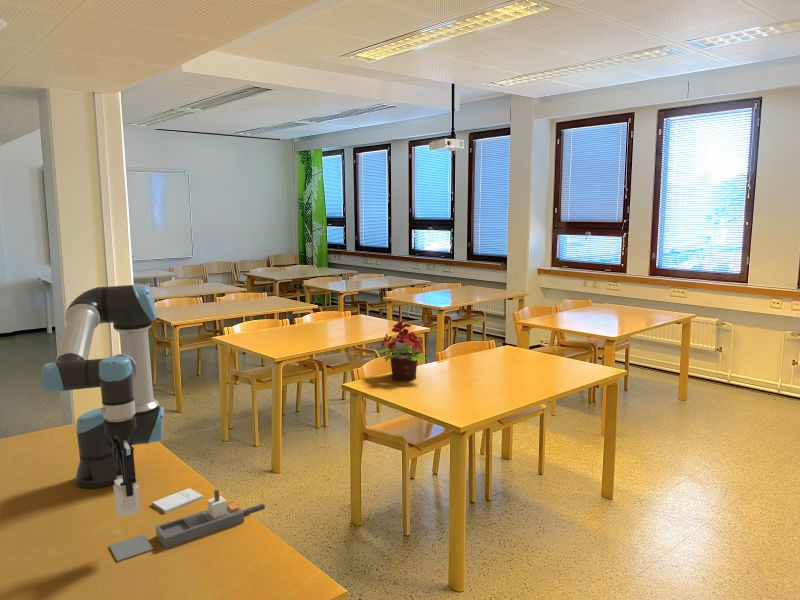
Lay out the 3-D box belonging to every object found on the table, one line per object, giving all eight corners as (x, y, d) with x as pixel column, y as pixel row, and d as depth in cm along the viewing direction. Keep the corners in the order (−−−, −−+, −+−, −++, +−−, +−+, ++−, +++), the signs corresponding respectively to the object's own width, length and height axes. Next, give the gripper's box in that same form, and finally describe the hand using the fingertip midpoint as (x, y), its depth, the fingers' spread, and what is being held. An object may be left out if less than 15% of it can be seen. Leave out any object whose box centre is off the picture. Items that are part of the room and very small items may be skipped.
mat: (109, 546, 162) (109, 545, 162) (144, 535, 168) (144, 534, 168) (117, 562, 155) (117, 560, 155) (153, 549, 161) (153, 548, 161)
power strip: (165, 549, 161) (162, 513, 159) (156, 536, 167) (153, 502, 166) (269, 513, 179) (268, 481, 177) (258, 503, 185) (256, 472, 184)
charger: (115, 510, 160) (112, 479, 159) (135, 504, 163) (133, 474, 162) (120, 517, 156) (117, 486, 155) (140, 511, 159) (138, 481, 158)
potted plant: (429, 371, 327) (428, 316, 323) (426, 386, 301) (425, 327, 296) (374, 371, 330) (373, 316, 325) (367, 385, 304) (366, 326, 299)
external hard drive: (151, 506, 185) (189, 491, 194) (165, 515, 180) (203, 499, 189) (151, 501, 185) (188, 487, 194) (164, 510, 179) (202, 494, 189)
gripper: (96, 411, 161) (104, 494, 164) (112, 430, 147) (120, 520, 150) (126, 405, 165) (133, 486, 169) (144, 423, 151) (151, 511, 154)
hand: (127, 502), depth 159 cm, fingers closed on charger, 5 cm apart
